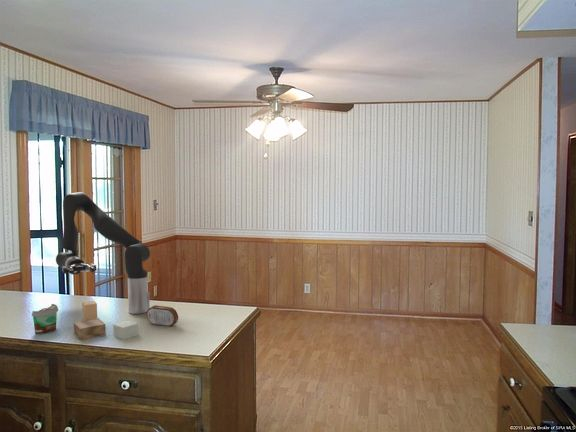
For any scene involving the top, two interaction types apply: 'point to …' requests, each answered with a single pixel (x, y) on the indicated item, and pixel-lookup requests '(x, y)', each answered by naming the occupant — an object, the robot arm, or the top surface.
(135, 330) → the grey block
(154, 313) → the tin
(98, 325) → the walnut block
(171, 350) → the top surface
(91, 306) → the ochre pillar
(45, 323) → the food container
